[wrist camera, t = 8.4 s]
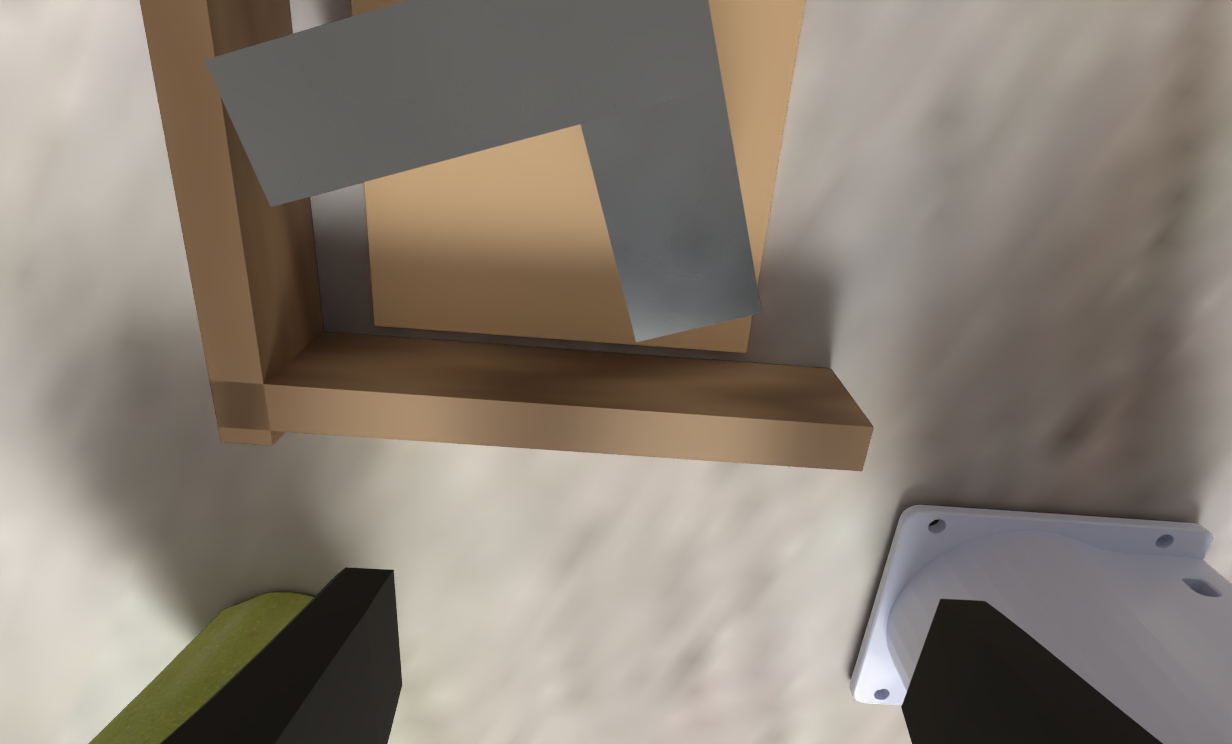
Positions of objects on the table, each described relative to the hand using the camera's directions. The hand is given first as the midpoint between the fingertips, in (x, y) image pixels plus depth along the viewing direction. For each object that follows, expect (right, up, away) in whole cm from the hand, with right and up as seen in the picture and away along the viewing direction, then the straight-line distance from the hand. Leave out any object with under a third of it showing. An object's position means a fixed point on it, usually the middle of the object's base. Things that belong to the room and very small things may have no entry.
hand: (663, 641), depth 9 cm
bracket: (-3, +9, +7) cm, 12 cm away
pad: (-2, +8, +8) cm, 12 cm away
